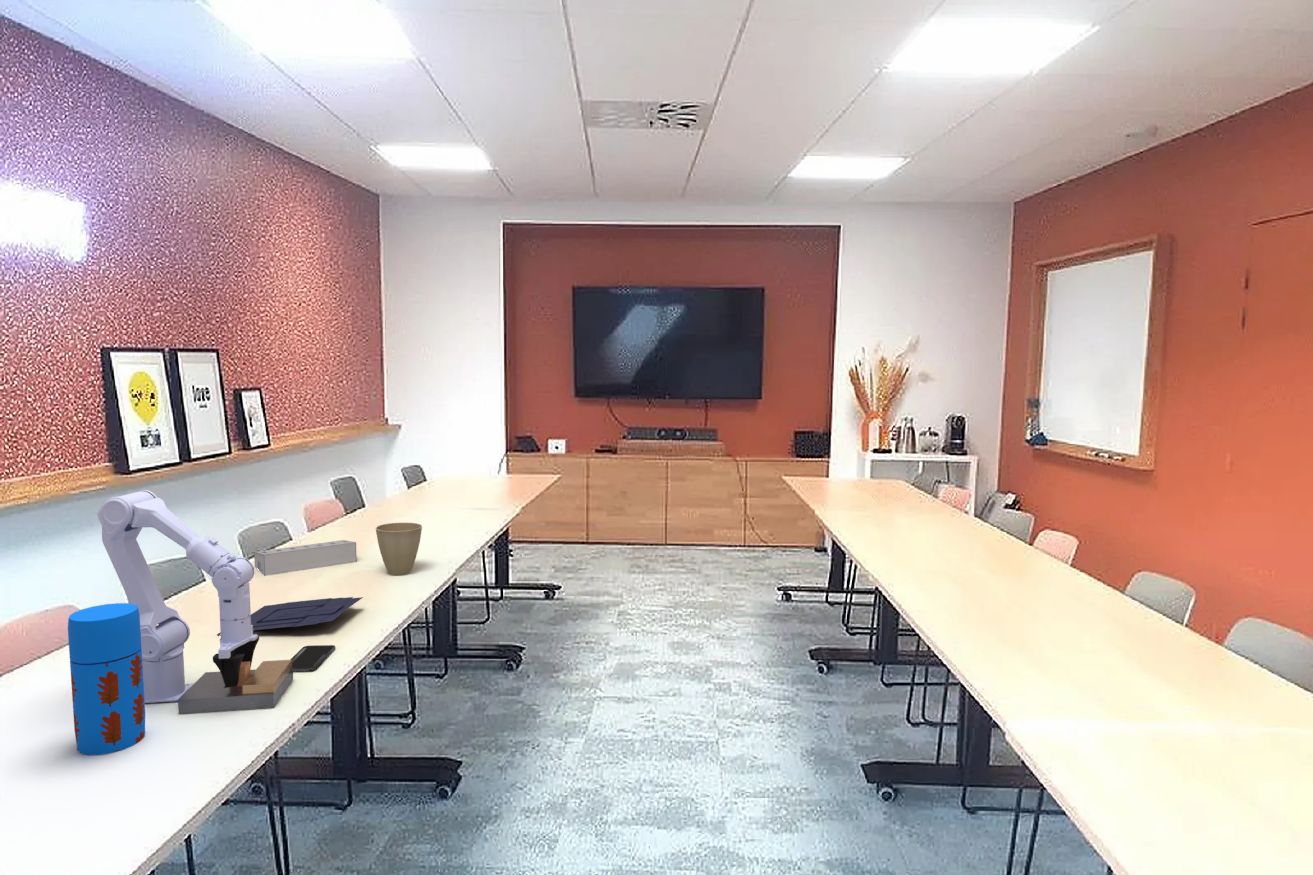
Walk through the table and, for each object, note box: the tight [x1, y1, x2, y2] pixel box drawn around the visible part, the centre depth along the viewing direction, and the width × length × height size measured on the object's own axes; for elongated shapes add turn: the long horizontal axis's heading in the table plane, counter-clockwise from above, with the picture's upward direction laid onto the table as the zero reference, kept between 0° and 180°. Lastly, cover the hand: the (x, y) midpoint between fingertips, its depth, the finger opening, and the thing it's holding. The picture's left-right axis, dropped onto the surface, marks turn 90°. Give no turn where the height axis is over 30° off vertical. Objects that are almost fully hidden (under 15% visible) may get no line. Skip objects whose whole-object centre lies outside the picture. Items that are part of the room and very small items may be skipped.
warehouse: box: [253, 539, 358, 577], centre depth 269 cm, size 30×14×8 cm, turn 129°
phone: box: [289, 644, 336, 674], centre depth 184 cm, size 8×1×15 cm
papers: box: [216, 596, 364, 636], centre depth 211 cm, size 24×30×4 cm
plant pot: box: [375, 522, 423, 576], centre depth 259 cm, size 15×15×16 cm
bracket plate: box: [177, 659, 294, 715], centre depth 163 cm, size 18×14×5 cm
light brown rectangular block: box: [236, 661, 252, 687], centre depth 163 cm, size 3×3×7 cm
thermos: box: [67, 602, 146, 756], centre depth 143 cm, size 11×11×25 cm
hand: (238, 678), depth 163 cm, fingers open, 7 cm apart
